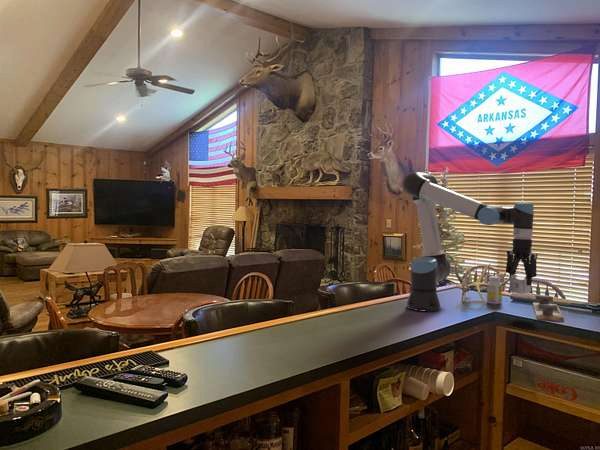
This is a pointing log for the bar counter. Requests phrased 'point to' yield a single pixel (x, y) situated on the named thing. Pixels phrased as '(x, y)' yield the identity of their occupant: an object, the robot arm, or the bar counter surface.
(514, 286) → the coupler
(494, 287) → the supplement bottle
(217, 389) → the bar counter surface
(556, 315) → the shaft bed
